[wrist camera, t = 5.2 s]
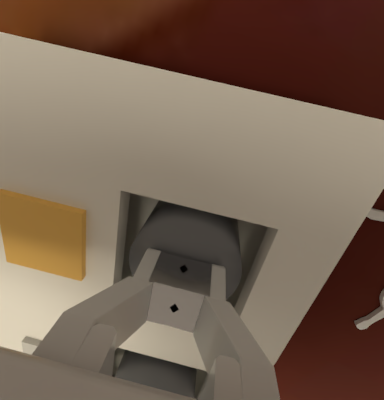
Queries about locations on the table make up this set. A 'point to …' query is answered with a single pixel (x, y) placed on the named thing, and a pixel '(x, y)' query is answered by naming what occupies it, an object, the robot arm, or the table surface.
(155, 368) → the button middle
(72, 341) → the robot arm
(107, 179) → the button panel
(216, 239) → the button
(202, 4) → the table surface
